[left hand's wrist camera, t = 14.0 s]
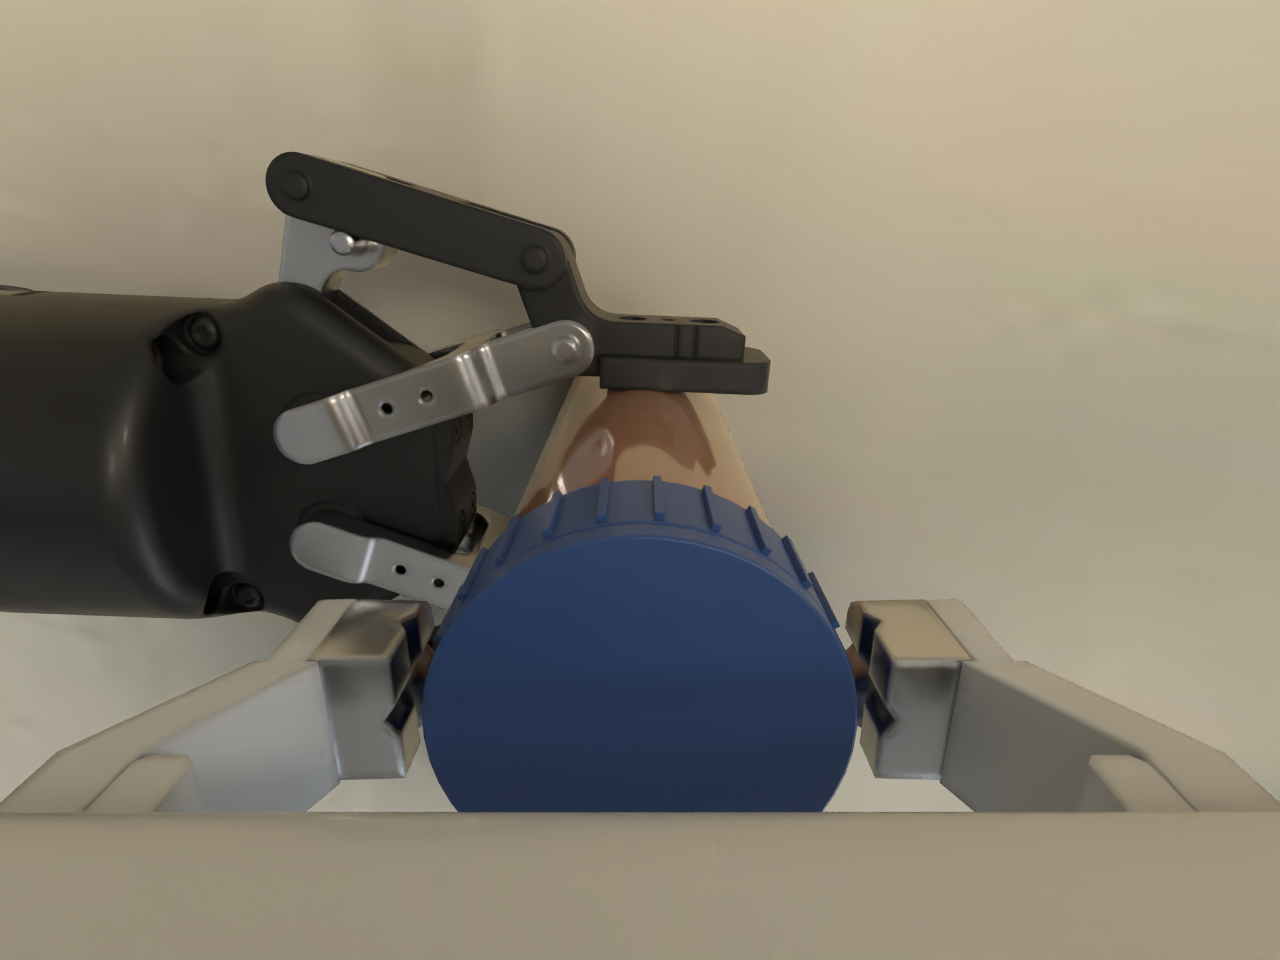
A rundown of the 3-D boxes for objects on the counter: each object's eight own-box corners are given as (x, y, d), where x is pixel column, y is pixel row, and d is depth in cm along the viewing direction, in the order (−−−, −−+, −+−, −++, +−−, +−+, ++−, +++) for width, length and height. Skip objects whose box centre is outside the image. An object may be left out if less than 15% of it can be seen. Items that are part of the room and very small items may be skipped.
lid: (858, 747, 11) (900, 848, 9) (528, 826, 11) (508, 934, 9) (780, 424, 9) (813, 471, 7) (393, 534, 9) (337, 602, 8)
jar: (586, 488, 24) (509, 863, 10) (552, 352, 22) (403, 567, 8) (723, 462, 24) (845, 810, 10) (698, 322, 22) (801, 493, 8)
